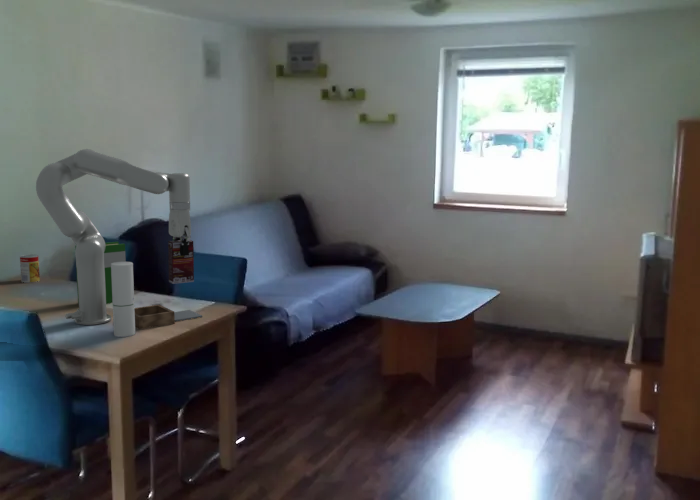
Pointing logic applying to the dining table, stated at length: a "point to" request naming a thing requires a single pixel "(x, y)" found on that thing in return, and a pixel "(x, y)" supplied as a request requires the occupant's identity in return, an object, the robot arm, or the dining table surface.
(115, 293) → the cylindrical container
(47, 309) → the dining table surface
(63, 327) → the dining table surface
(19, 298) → the dining table surface
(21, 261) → the canned food
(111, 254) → the hardback book
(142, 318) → the pocket frame
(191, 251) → the supplement box
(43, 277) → the dining table surface
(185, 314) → the mat
